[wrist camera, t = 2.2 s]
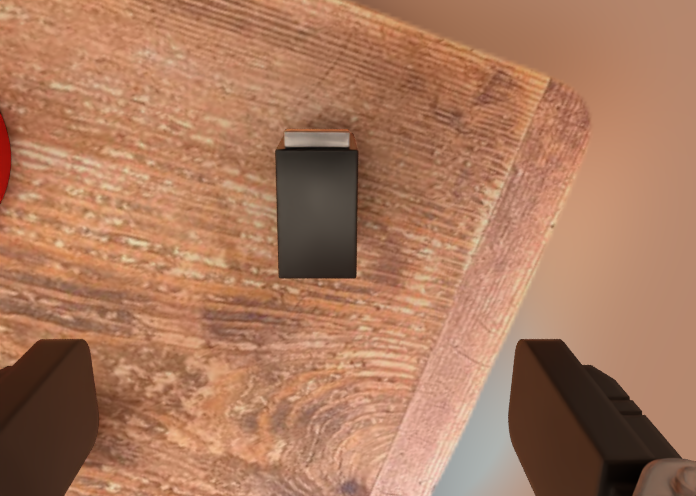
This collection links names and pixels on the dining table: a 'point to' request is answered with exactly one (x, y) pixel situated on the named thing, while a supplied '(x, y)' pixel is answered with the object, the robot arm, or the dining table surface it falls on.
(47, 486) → the robot arm
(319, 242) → the black usb flash drive
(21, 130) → the dining table surface
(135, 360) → the dining table surface
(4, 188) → the decorative ornament
